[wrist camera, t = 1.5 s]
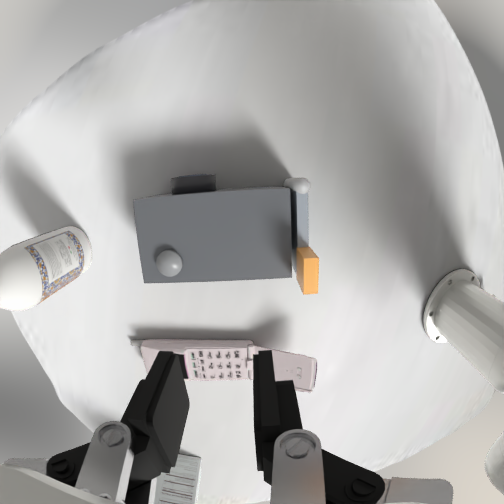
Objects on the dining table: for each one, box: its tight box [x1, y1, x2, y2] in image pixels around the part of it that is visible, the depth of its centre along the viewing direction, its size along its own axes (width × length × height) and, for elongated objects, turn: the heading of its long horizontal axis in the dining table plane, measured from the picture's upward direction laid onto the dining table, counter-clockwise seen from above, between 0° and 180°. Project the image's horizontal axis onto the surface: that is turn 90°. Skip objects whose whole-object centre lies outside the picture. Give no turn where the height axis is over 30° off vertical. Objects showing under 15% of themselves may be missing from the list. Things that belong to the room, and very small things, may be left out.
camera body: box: [133, 174, 292, 283], centre depth 28 cm, size 14×10×9 cm
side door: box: [284, 178, 319, 294], centre depth 27 cm, size 1×9×11 cm, turn 3°
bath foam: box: [0, 226, 92, 311], centre depth 23 cm, size 7×7×20 cm
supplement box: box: [154, 454, 201, 504], centre depth 36 cm, size 10×9×17 cm
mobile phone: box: [131, 339, 317, 392], centre depth 34 cm, size 6×6×25 cm
